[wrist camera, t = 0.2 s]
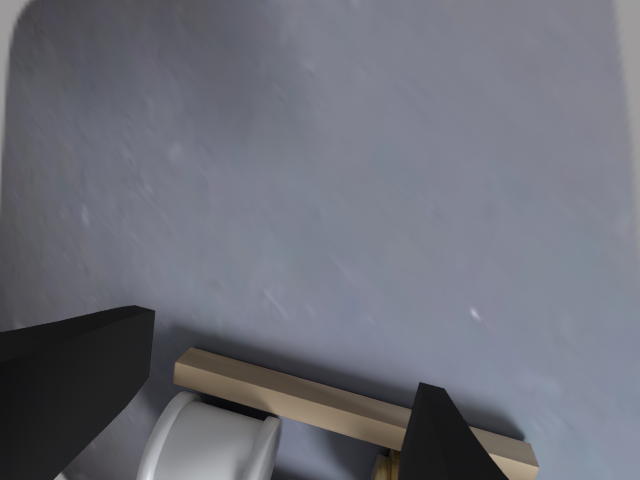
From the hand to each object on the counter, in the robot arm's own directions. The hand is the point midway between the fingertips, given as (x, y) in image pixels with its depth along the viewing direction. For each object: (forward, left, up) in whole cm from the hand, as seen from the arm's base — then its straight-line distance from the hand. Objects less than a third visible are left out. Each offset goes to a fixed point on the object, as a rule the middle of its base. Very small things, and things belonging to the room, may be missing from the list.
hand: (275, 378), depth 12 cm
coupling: (-10, +3, -10) cm, 14 cm away
